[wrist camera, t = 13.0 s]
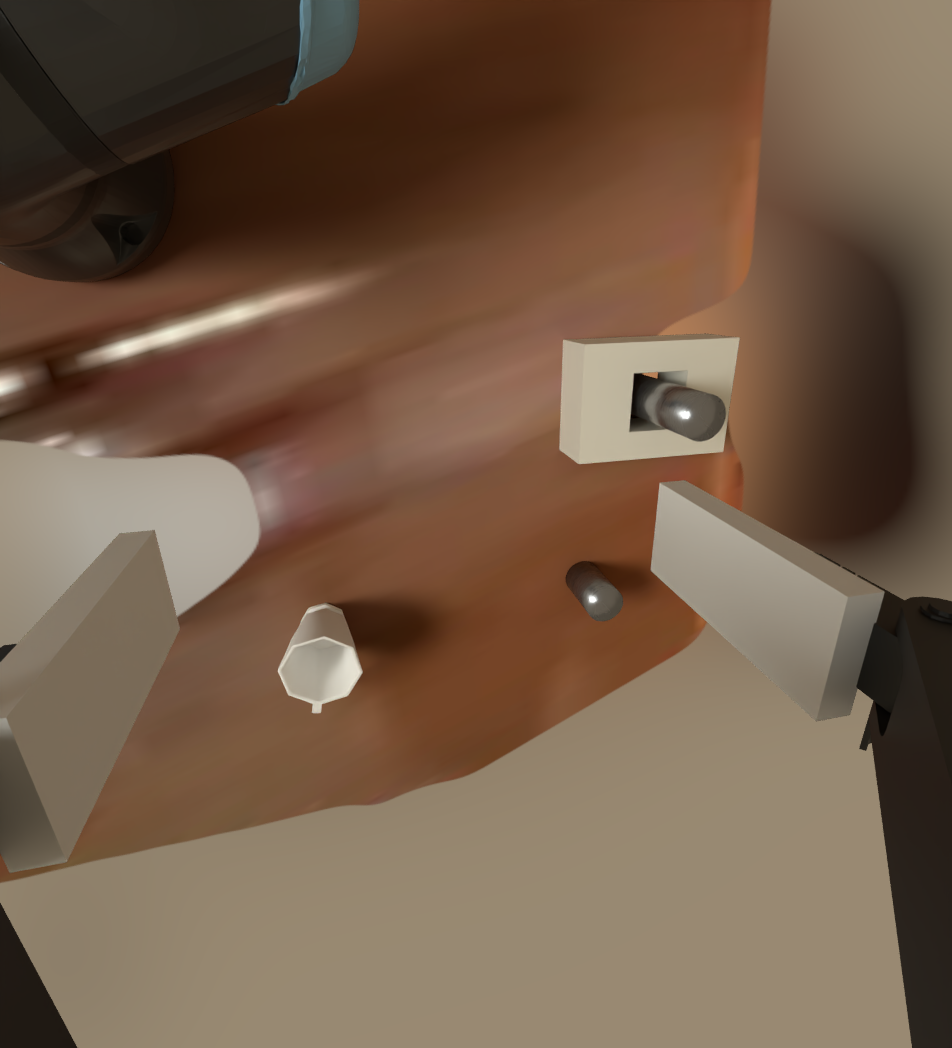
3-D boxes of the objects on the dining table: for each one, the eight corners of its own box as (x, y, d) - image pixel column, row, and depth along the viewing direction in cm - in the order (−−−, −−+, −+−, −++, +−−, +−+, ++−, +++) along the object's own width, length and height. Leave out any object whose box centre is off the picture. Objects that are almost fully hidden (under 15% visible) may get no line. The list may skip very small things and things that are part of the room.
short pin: (566, 563, 59) (588, 590, 54) (599, 559, 60) (624, 586, 55) (565, 593, 61) (586, 623, 55) (597, 589, 62) (621, 618, 56)
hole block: (563, 339, 51) (584, 344, 46) (706, 333, 53) (739, 337, 49) (559, 449, 55) (578, 464, 50) (692, 439, 57) (723, 451, 53)
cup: (364, 592, 56) (367, 638, 49) (353, 678, 59) (355, 733, 52) (288, 588, 54) (280, 635, 47) (282, 677, 57) (273, 733, 50)
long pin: (615, 373, 53) (685, 395, 42) (651, 372, 54) (729, 392, 43) (612, 412, 54) (679, 443, 43) (647, 410, 55) (722, 440, 44)
